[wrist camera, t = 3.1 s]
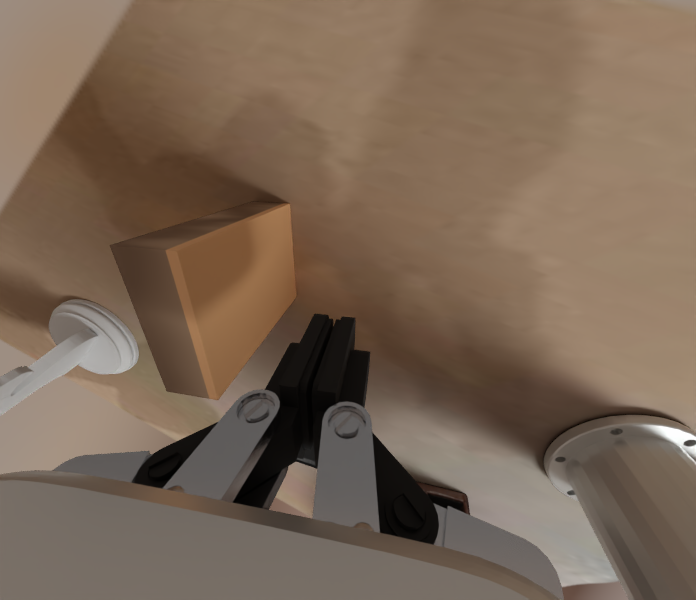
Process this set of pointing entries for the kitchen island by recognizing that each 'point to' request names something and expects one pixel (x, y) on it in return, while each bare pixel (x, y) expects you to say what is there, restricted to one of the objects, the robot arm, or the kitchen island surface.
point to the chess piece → (74, 350)
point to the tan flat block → (210, 292)
